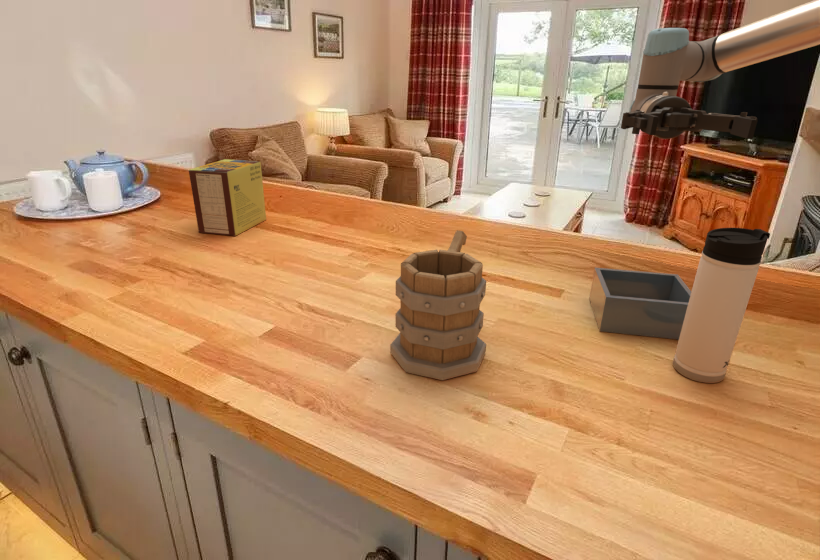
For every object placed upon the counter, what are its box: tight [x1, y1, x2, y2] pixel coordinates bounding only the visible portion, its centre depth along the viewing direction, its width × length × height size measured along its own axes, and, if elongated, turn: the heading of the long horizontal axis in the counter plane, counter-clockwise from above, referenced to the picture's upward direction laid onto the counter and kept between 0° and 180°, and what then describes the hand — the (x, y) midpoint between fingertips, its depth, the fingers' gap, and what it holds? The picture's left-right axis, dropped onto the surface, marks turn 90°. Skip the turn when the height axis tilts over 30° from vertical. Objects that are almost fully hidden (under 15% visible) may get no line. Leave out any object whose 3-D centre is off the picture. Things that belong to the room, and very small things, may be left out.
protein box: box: [188, 158, 267, 237], centre depth 123 cm, size 10×15×16 cm
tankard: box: [389, 229, 487, 381], centre depth 70 cm, size 20×13×15 cm, turn 160°
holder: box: [588, 267, 692, 341], centre depth 80 cm, size 14×13×6 cm
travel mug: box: [672, 227, 771, 384], centre depth 63 cm, size 6×7×20 cm
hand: (702, 127), depth 74 cm, fingers open, 13 cm apart
